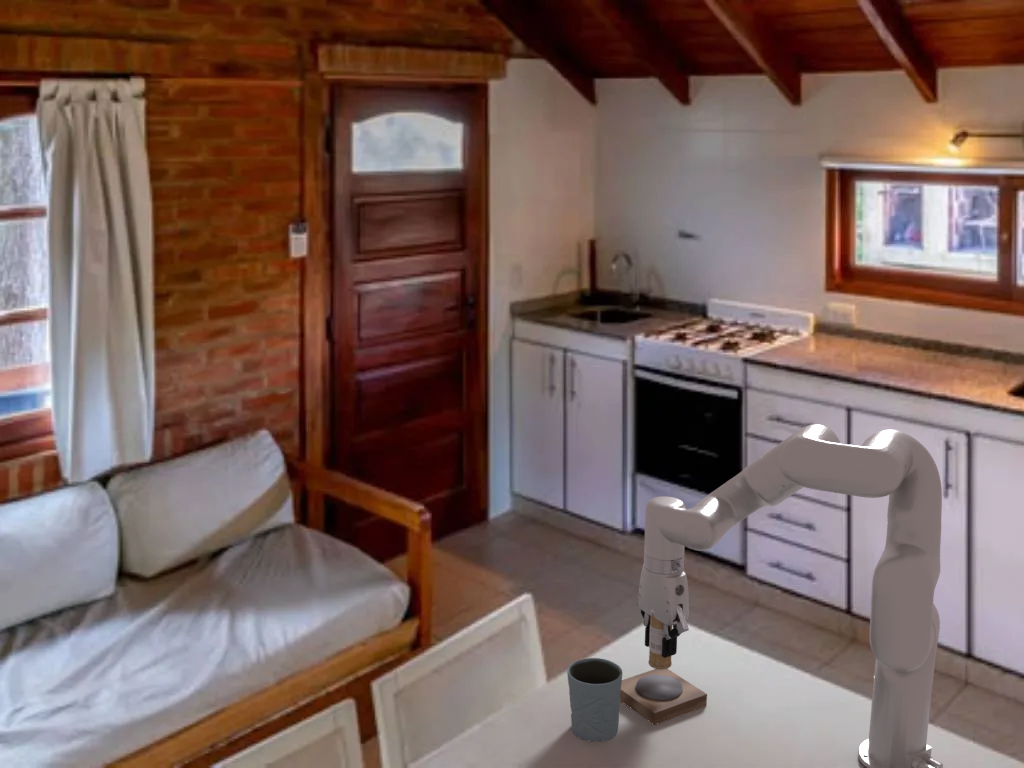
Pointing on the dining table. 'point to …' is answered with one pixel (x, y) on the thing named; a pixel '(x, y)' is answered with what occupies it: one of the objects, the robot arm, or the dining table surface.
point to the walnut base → (661, 695)
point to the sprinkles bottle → (657, 645)
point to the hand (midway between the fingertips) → (660, 649)
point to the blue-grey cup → (594, 698)
